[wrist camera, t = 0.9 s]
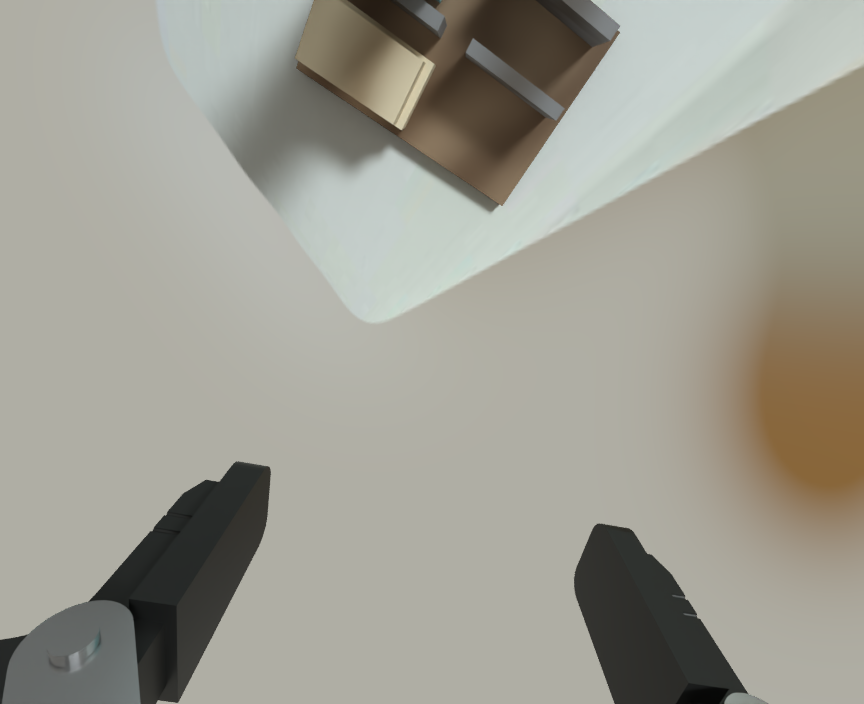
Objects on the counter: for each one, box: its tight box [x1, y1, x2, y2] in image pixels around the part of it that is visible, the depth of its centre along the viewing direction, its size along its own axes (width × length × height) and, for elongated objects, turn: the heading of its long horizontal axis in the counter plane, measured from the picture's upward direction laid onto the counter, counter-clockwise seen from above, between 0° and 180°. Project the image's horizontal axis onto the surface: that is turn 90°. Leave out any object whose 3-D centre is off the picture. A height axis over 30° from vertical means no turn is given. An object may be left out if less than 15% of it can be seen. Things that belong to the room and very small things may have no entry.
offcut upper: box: [295, 0, 426, 124], centre depth 26 cm, size 7×4×2 cm, turn 59°
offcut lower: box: [340, 0, 436, 130], centre depth 28 cm, size 8×4×2 cm, turn 59°
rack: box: [296, 0, 620, 206], centre depth 27 cm, size 18×13×5 cm
